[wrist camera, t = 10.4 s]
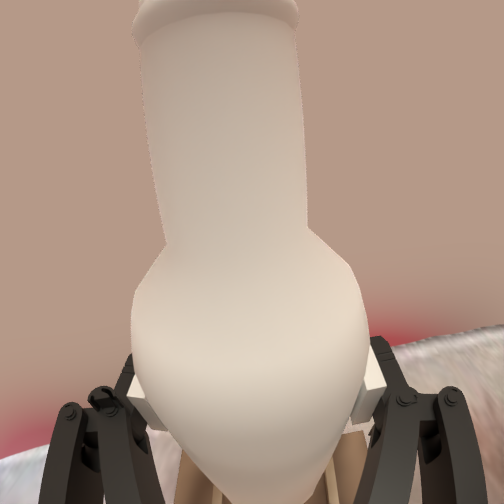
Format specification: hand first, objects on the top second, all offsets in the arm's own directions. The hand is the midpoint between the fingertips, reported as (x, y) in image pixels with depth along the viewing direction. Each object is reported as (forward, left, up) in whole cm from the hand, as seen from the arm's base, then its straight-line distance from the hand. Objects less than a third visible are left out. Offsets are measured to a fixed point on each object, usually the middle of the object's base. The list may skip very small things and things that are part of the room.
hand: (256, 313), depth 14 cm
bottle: (0, +5, -17) cm, 17 cm away
